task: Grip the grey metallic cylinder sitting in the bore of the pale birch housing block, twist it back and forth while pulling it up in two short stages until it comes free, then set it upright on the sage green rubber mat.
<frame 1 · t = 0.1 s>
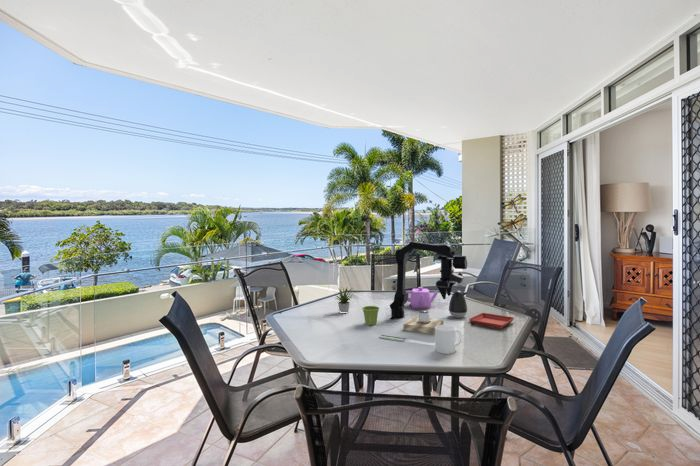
hand: (446, 297, 199), 15 cm above the table, tool pointing down, fingers open, 9 cm apart
housing: (423, 329, 192), on the table
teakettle: (421, 306, 242), on the table
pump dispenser: (458, 317, 215), on the table
plant saucer: (491, 324, 201), on the table
house plant: (346, 312, 229), on the table
mat: (395, 336, 182), on the table
plant pot: (371, 324, 204), on the table
cup: (449, 350, 162), on the table
grey metallic cylinder: (423, 327, 192), point 1 cm above the table, touching housing
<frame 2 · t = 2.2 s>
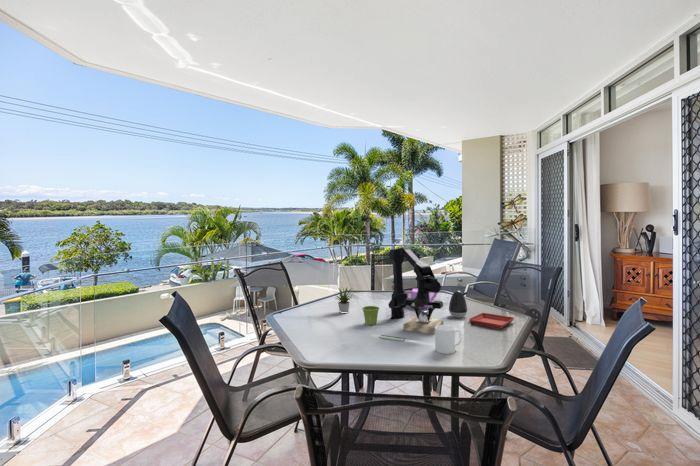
hand: (423, 319, 192), 5 cm above the table, tool pointing down, fingers closed on grey metallic cylinder, 5 cm apart
grey metallic cylinder: (423, 327, 192), point 1 cm above the table, touching gripper, housing
everything else where it was.
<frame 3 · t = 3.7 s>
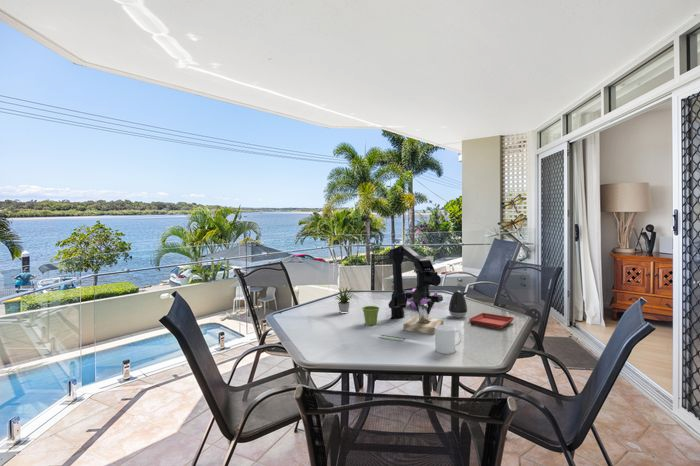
hand: (423, 313, 192), 8 cm above the table, tool pointing down, fingers closed on grey metallic cylinder, 5 cm apart
grey metallic cylinder: (423, 321, 192), point 4 cm above the table, touching gripper
everything else where it was.
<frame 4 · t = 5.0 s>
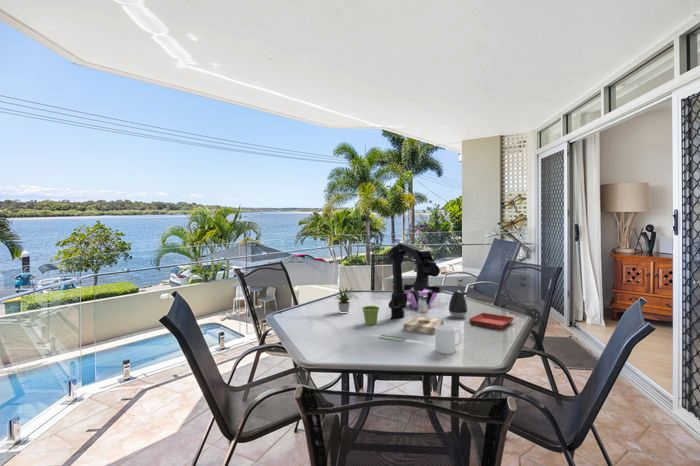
hand: (422, 304, 191), 13 cm above the table, tool pointing down, fingers closed on grey metallic cylinder, 5 cm apart
grey metallic cylinder: (422, 312, 191), point 9 cm above the table, touching gripper
everything else where it was.
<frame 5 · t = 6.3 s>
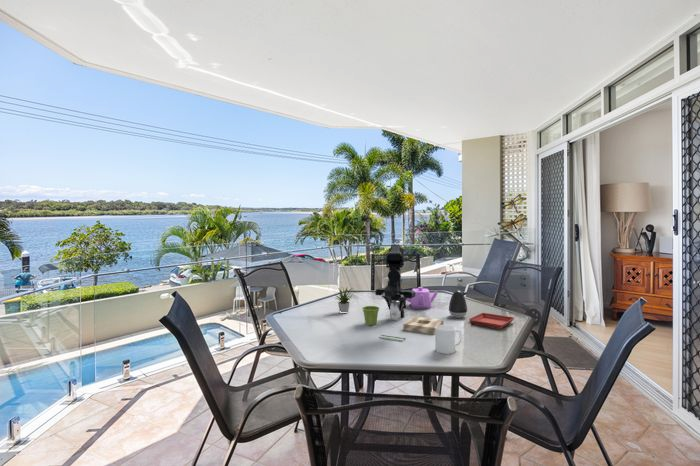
hand: (395, 310, 182), 13 cm above the table, tool pointing down, fingers closed on grey metallic cylinder, 5 cm apart
grey metallic cylinder: (395, 318, 182), point 9 cm above the table, touching gripper
everything else where it was.
when the fingers open (6 cm above the table, at t = 7.7 s): grey metallic cylinder drops 2 cm, resting on mat.
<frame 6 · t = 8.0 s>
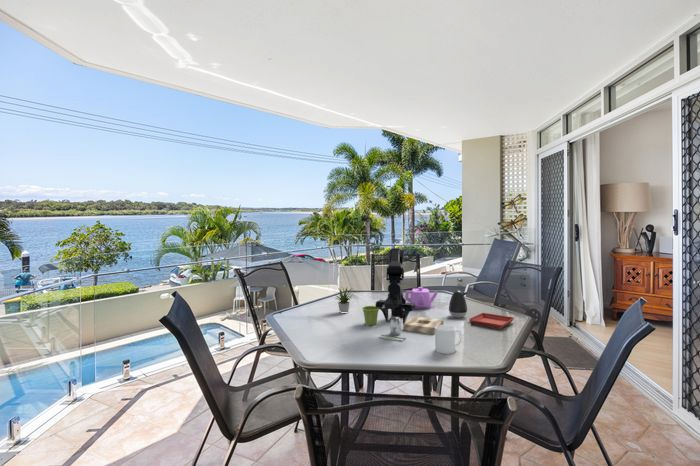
hand: (395, 322, 182), 6 cm above the table, tool pointing down, fingers open, 8 cm apart
grey metallic cylinder: (395, 334, 182), point 1 cm above the table, touching mat
everything else where it was.
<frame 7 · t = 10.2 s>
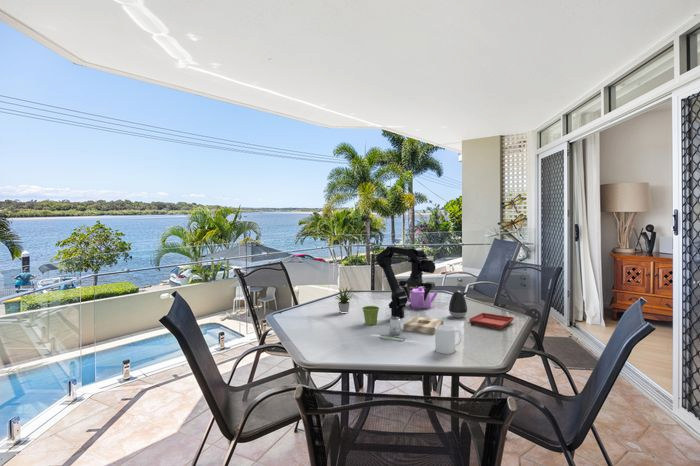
hand: (416, 299, 203), 13 cm above the table, tool pointing down, fingers open, 9 cm apart
nothing on the table moved.
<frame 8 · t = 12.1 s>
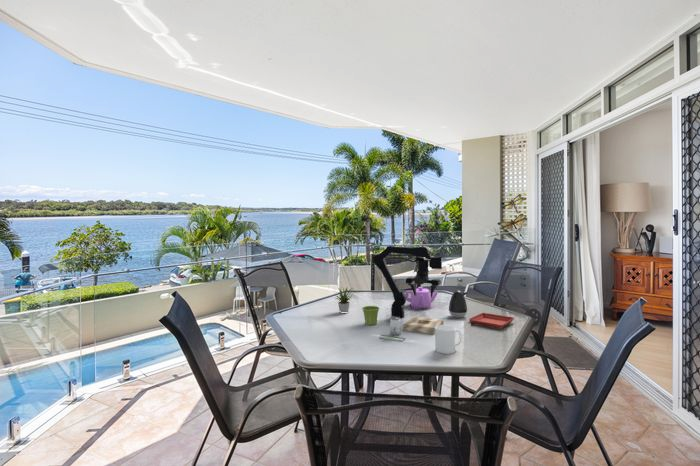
hand: (423, 296, 210), 13 cm above the table, tool pointing down, fingers open, 9 cm apart
nothing on the table moved.
at the end: grey metallic cylinder inside the target area on the mat (0.1 cm from its centre), point 0.6 cm above the mat's base; grey metallic cylinder tilted 1°; the gripper is holding nothing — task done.
